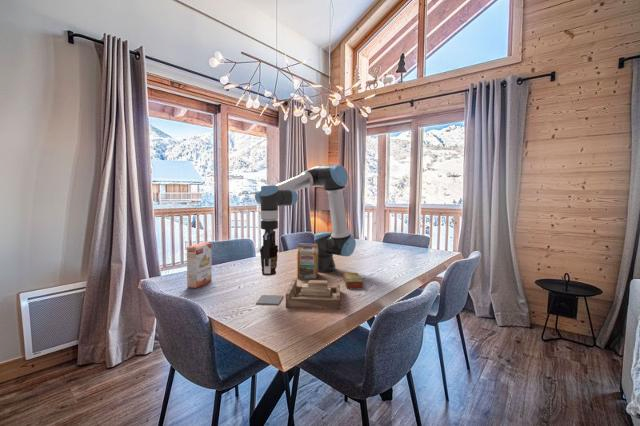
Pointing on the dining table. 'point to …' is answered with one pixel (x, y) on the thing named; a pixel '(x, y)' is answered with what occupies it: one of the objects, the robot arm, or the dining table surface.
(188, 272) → the cracker box
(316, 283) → the offcut stack
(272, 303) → the coaster
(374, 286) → the dining table surface
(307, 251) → the milk carton
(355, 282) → the carton
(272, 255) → the coffee cup
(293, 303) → the brown wooden tray
